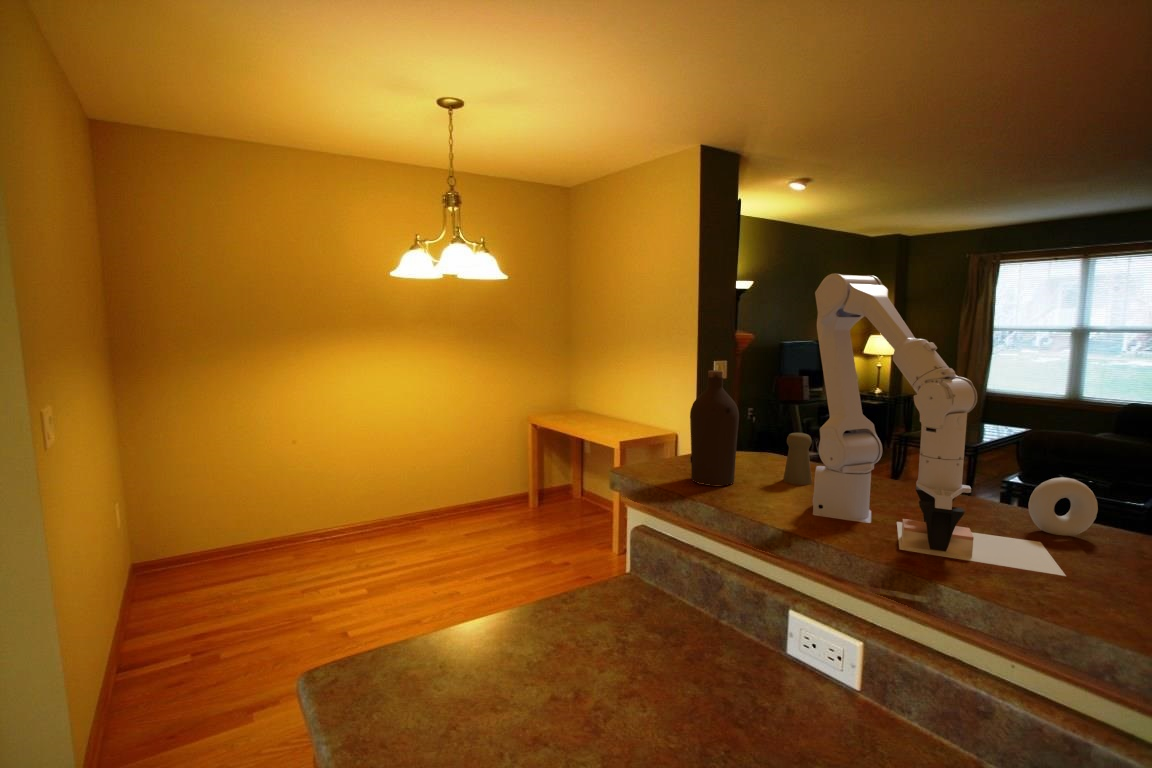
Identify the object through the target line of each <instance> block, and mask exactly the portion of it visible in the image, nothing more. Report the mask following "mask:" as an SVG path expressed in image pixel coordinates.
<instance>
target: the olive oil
mask: <svg viewBox="0 0 1152 768" xmlns="http://www.w3.org/2000/svg"><path fill="white" fill-rule="evenodd" d="M723 373H724V371H723V370H708V371H707V375H708V376H707V385H706V386H707V387H706V388H705V390H704V391H703V392H701V394H699V396H698V397H697V398H696V399H694V401H693V403H692V406H691V408H690V412H689V420H690V423H689V425H690V426H689V427H690V428H689V429H690V455H691V456H690V458H689V459H690V463H691V465H690V466H691V473H690V474H691V481H692V480H694V481H696V482H699V483H704V484H710V485H727V484H731V483H733V482H734V483H735V472H736V459H737V447H738V446H737V445H738V444H737V442H738V431H739V421H740V412H739V407H738V406H737V403H736V402H735V400H733V398H732V397H731V396H730V395H729V394H728V392H726V390H725V389H724V387H723V386H724V376H723ZM734 483H733V484H734ZM731 485H732V484H731Z"/></svg>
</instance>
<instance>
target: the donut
mask: <svg viewBox="0 0 1152 768" xmlns="http://www.w3.org/2000/svg"><path fill="white" fill-rule="evenodd" d="M1064 498H1066V499H1068V500H1069V503H1070V508H1069V510H1068V512H1066V514H1064V515H1057V514H1056V512H1055V506H1056V504H1057V503H1058V501H1060V500H1061V499H1064ZM1028 500H1029V501H1028V504H1027V505H1028V514H1029V516H1030V518H1031V520H1032V522H1033V523H1034V524H1035V526H1037V528H1039V529H1040V530H1041V531H1043V532H1044V533H1047V534H1051V535H1054V536H1055V535H1056V536H1070V537H1072V536H1077V535H1079V534H1082V533H1084V532H1085V531H1087V530H1088V529H1089V528H1090V527H1091V526H1092V525H1093V524H1094V522H1095V520H1096V518H1097V514H1098V511H1099V507H1098V500H1097V498H1096V495H1095V494H1094V492H1093V490H1091V488H1089V486H1088V485H1087V484H1085V483H1083V482H1081V481H1079V480H1078V479H1075V478H1070V477H1063V476H1061V477H1054V478H1051V479H1048V480H1045V481H1043V482H1041V483H1040V484H1039V485H1037V486H1036V487H1035V488H1034V490H1033V491H1032V493H1031V495H1030V497H1029V499H1028Z"/></svg>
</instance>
